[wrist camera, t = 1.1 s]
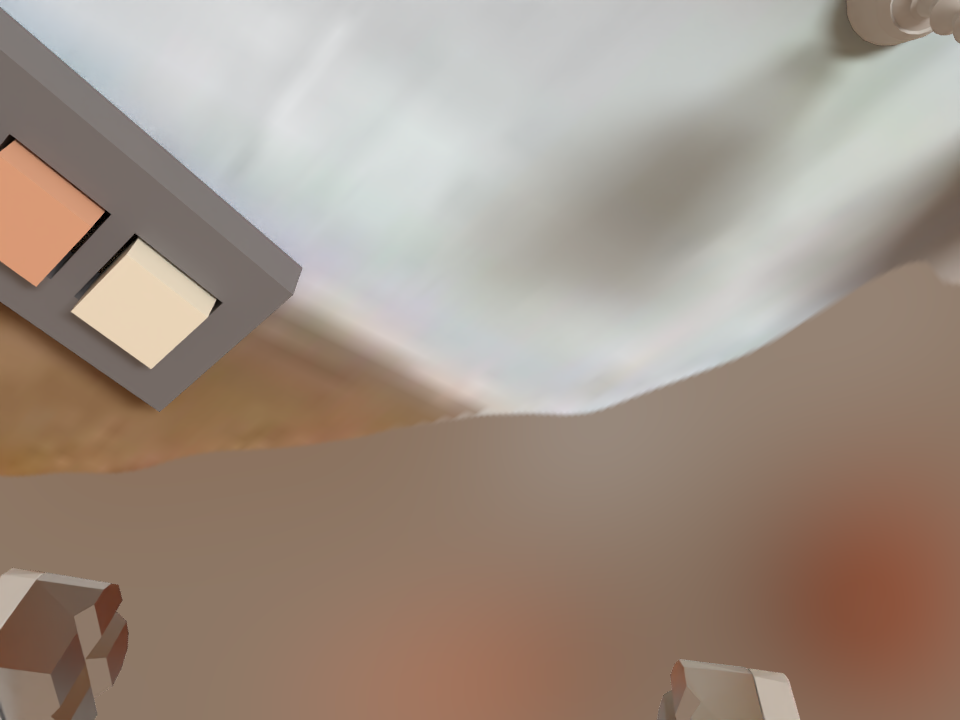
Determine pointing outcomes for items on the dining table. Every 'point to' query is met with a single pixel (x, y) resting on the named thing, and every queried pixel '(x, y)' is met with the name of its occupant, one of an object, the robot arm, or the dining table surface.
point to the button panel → (130, 223)
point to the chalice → (903, 19)
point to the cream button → (144, 303)
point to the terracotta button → (39, 213)
